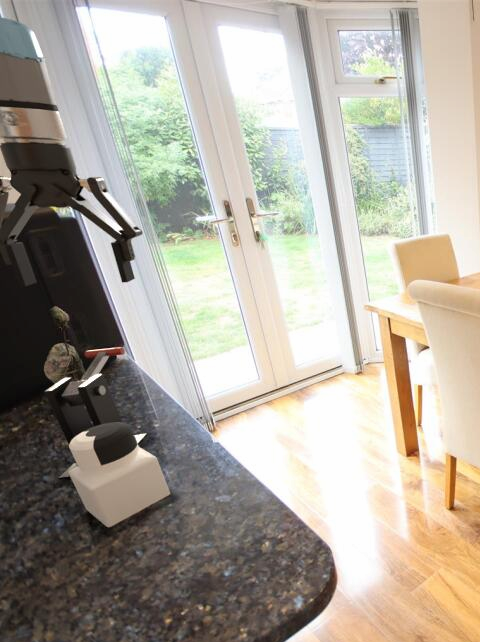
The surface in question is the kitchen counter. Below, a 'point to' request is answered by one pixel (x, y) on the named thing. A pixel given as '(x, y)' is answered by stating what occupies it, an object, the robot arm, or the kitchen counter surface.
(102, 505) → the medicine bottle
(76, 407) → the bracket
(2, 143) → the robot arm
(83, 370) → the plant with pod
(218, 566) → the kitchen counter surface
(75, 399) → the lever
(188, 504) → the kitchen counter surface
